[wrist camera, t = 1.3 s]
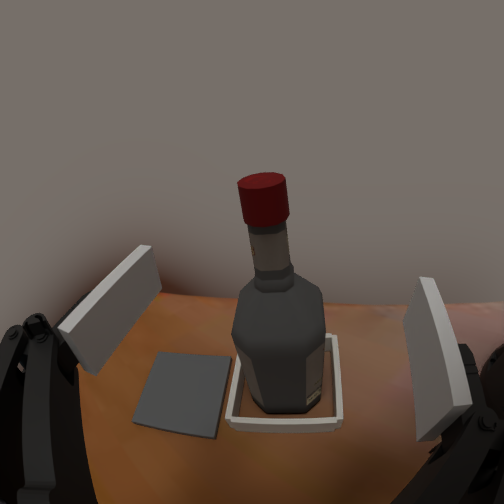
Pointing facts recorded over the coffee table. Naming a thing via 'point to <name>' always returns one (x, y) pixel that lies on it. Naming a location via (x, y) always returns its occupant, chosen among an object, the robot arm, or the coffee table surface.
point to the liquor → (277, 308)
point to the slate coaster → (184, 394)
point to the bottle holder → (287, 424)
